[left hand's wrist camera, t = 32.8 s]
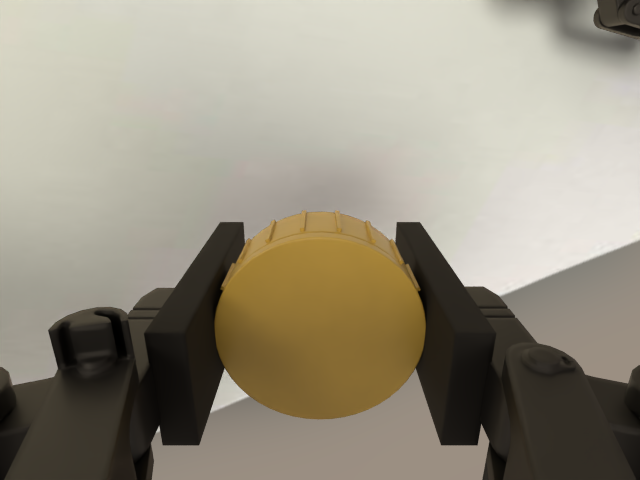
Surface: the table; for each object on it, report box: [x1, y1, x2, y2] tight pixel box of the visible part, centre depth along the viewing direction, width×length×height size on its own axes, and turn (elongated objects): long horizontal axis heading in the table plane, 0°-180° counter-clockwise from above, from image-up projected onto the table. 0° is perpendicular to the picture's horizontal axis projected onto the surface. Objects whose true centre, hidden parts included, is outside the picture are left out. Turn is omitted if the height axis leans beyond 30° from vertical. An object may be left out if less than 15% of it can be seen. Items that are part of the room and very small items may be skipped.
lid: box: [214, 210, 426, 419], centre depth 11 cm, size 5×5×2 cm
